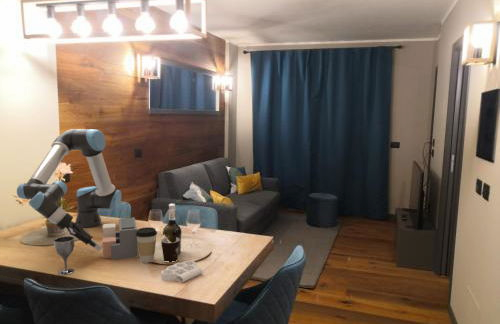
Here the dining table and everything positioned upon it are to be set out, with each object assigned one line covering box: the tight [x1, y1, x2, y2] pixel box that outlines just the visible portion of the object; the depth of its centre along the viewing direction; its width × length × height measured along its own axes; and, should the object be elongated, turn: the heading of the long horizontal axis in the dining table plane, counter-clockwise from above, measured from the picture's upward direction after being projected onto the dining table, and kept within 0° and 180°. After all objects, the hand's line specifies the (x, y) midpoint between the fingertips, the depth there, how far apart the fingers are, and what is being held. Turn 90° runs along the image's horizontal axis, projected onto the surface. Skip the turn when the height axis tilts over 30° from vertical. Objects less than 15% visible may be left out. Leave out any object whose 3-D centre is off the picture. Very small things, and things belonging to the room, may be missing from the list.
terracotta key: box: [102, 237, 116, 259], centre depth 197 cm, size 7×6×8 cm
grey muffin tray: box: [160, 260, 204, 283], centre depth 176 cm, size 3×18×15 cm
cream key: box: [102, 223, 117, 239], centre depth 206 cm, size 7×6×12 cm
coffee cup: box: [136, 226, 158, 264], centre depth 190 cm, size 10×10×15 cm
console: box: [111, 216, 139, 260], centre depth 203 cm, size 22×12×15 cm, turn 18°
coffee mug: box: [160, 237, 180, 262], centre depth 193 cm, size 12×9×10 cm
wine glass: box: [53, 235, 76, 276], centre depth 177 cm, size 8×8×15 cm
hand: (100, 249), depth 196 cm, fingers closed
